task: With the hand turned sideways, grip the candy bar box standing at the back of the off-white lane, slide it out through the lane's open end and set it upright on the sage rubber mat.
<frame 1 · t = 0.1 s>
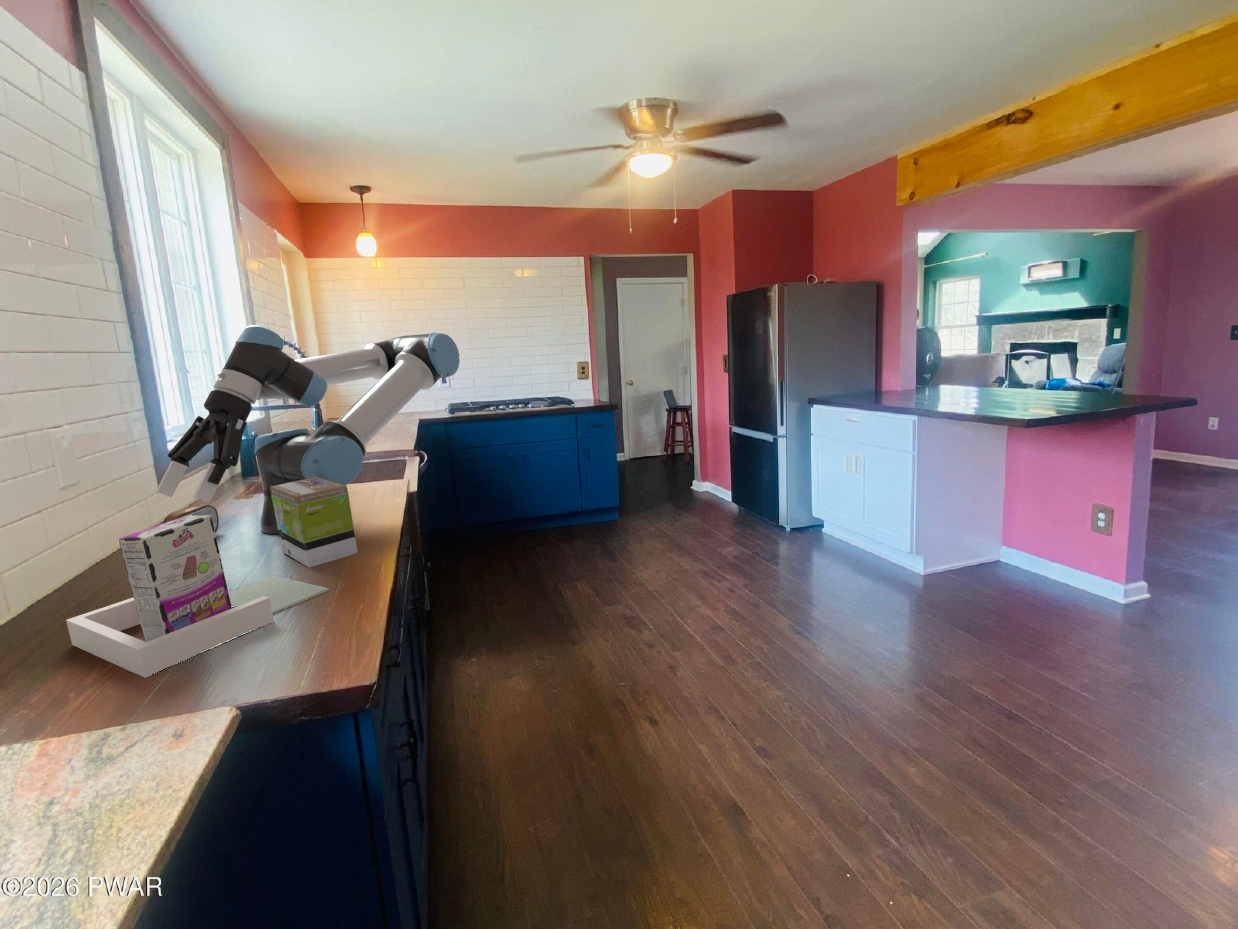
hand: (181, 497, 111), 15 cm above the counter, tool tilted 35°, fingers open, 13 cm apart
sage mat: (270, 595, 102), on the counter
lane rack: (175, 633, 89), on the counter
candy bar box: (190, 629, 91), on the counter
tea box: (319, 555, 123), on the counter
tin: (195, 544, 135), on the counter
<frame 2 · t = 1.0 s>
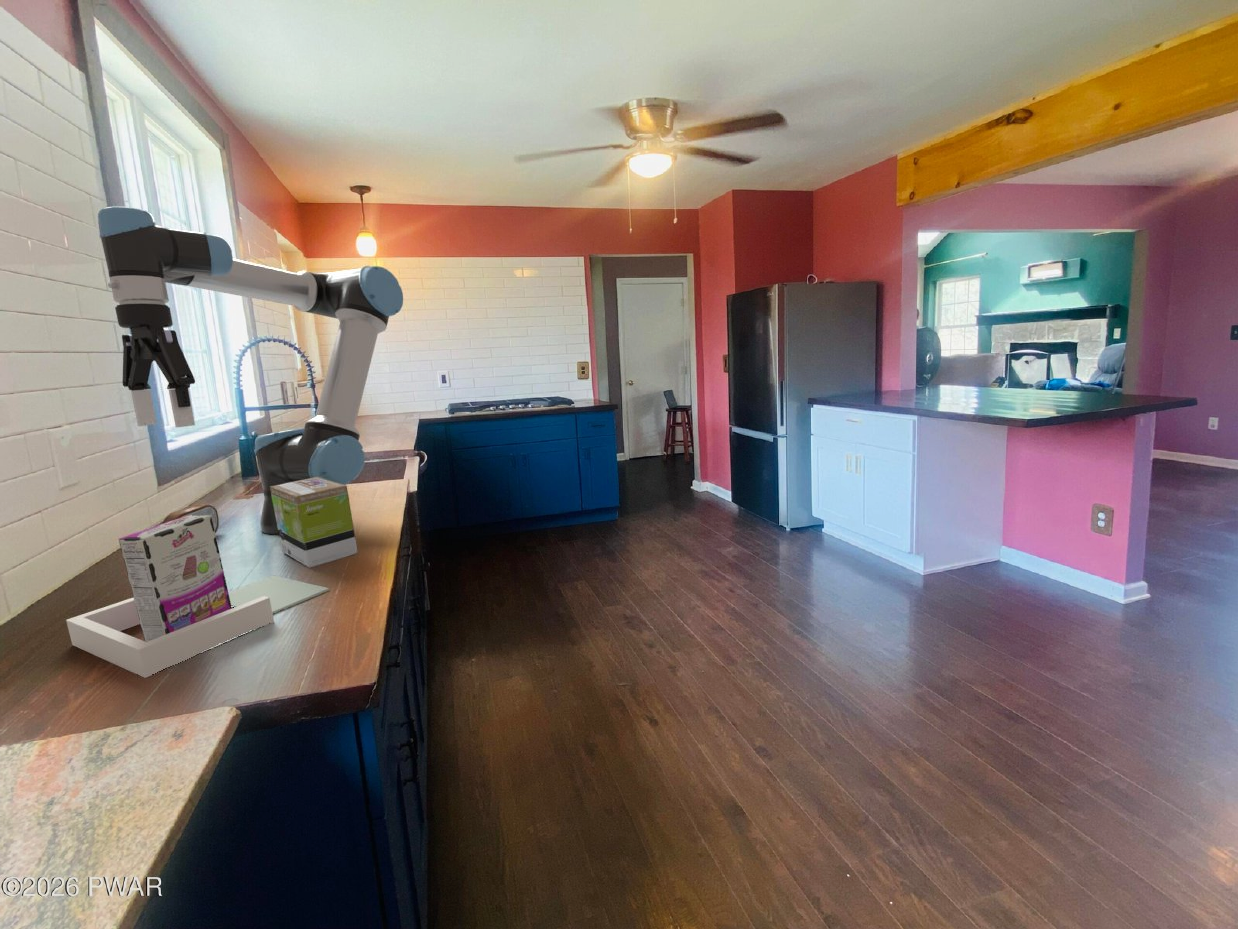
hand: (165, 426, 107), 29 cm above the counter, tool pointing down, fingers open, 13 cm apart
nothing on the counter moved.
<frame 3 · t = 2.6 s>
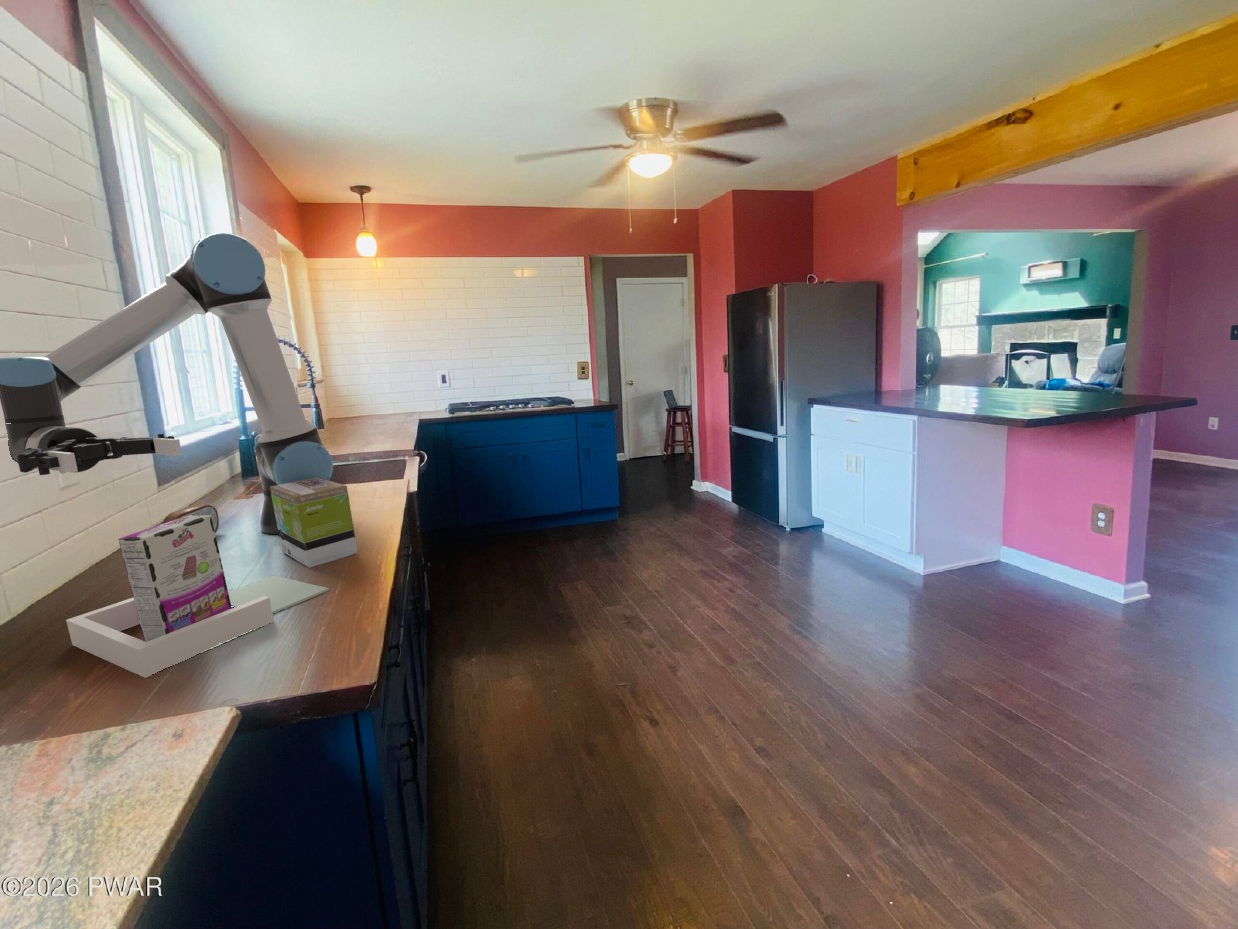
hand: (128, 454, 91), 26 cm above the counter, tool horizontal, fingers open, 13 cm apart
nothing on the counter moved.
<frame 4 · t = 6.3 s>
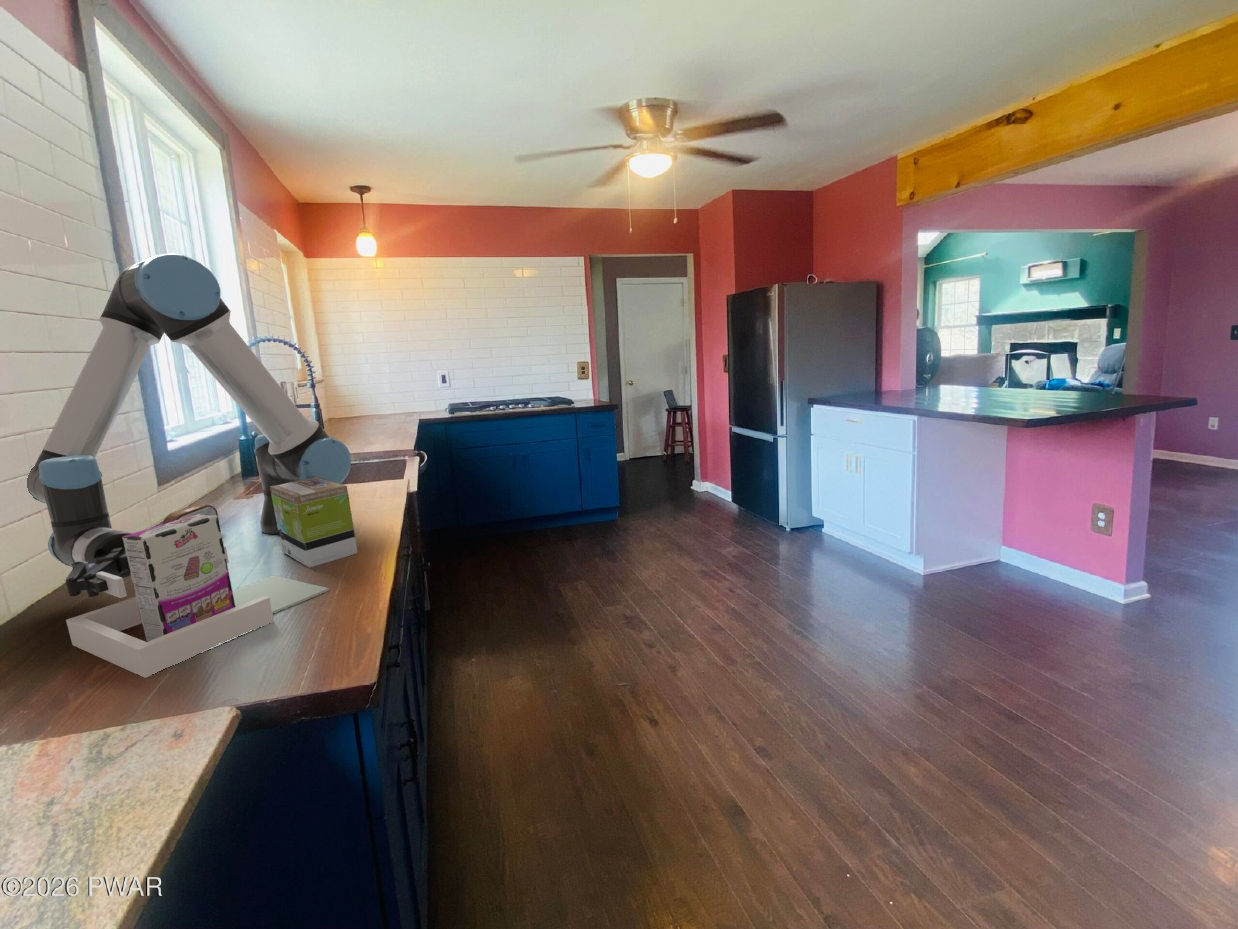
hand: (176, 570, 88), 10 cm above the counter, tool horizontal, fingers open, 13 cm apart
candy bar box: (192, 628, 91), on the counter, touching gripper
everything else where it was.
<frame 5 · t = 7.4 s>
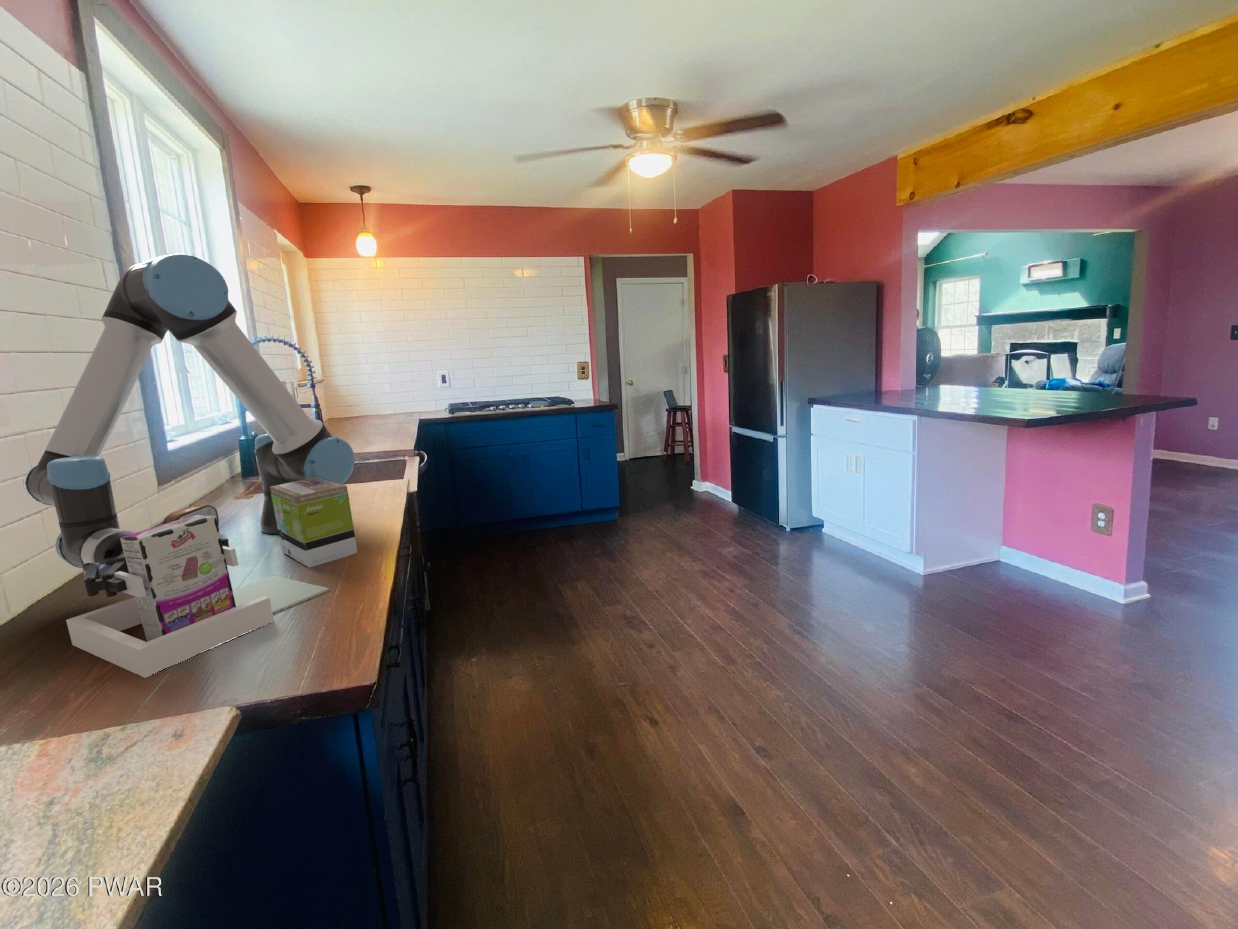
hand: (190, 571, 87), 10 cm above the counter, tool horizontal, fingers open, 12 cm apart
nothing on the counter moved.
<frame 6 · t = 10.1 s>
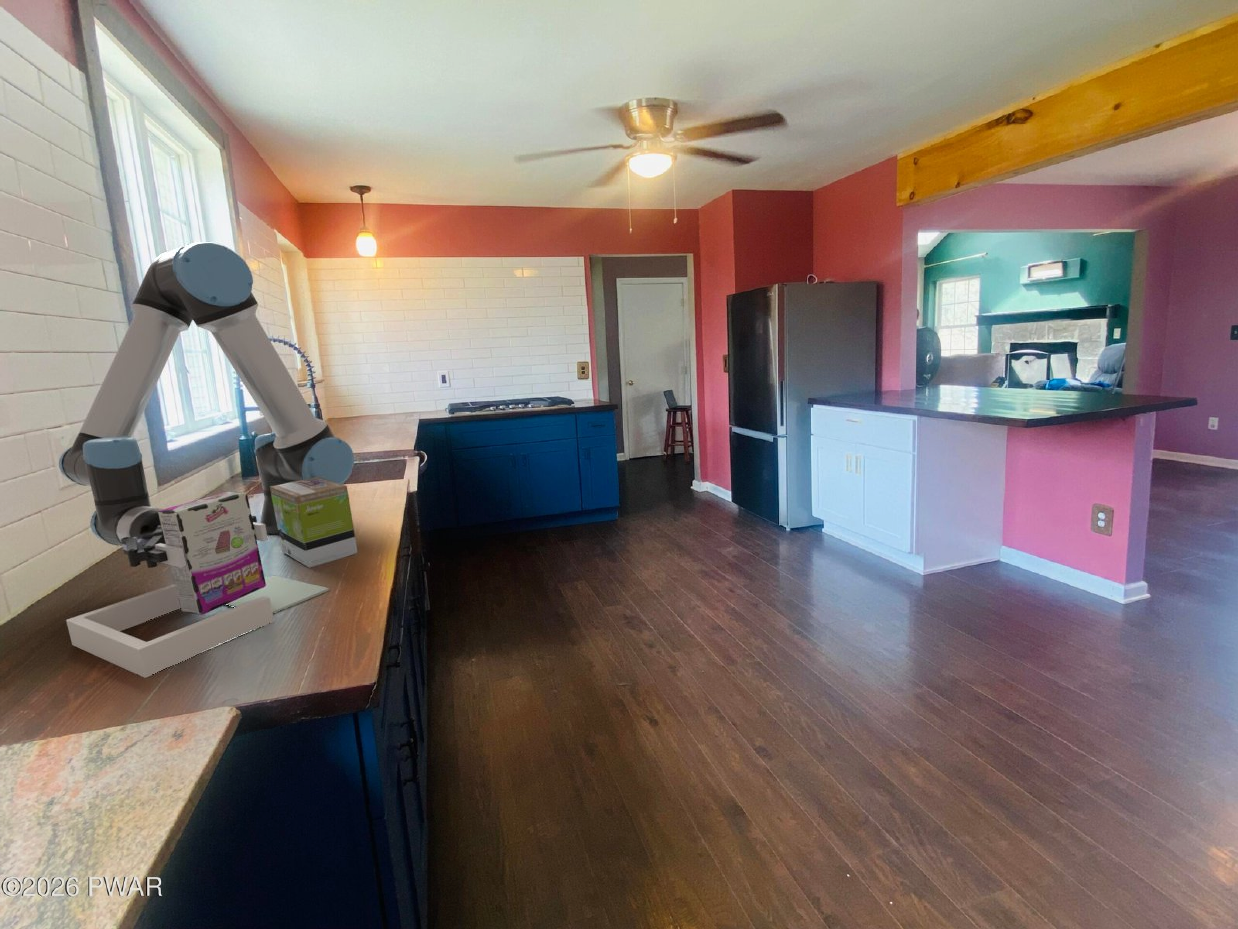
hand: (225, 544, 91), 12 cm above the counter, tool horizontal, fingers closed on candy bar box, 11 cm apart
candy bar box: (225, 600, 95), point 2 cm above the counter, touching gripper
everything else where it was.
when the fingers open (11 cm above the counter, at t = 12.4 s): candy bar box stays where it is, resting on sage mat.
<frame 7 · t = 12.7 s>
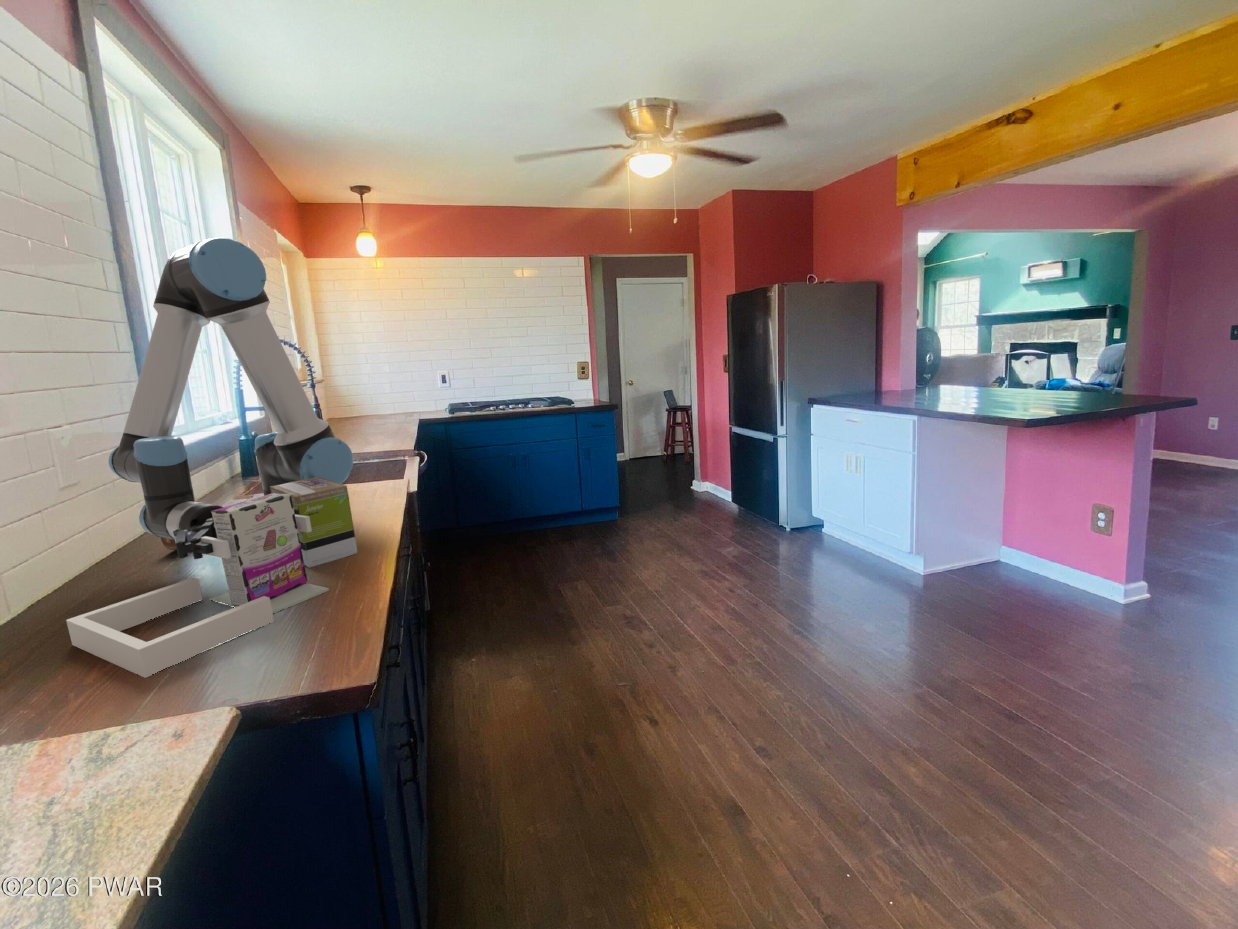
hand: (270, 536, 98), 11 cm above the counter, tool horizontal, fingers open, 13 cm apart
candy bar box: (270, 595, 101), resting on sage mat
everything else where it was.
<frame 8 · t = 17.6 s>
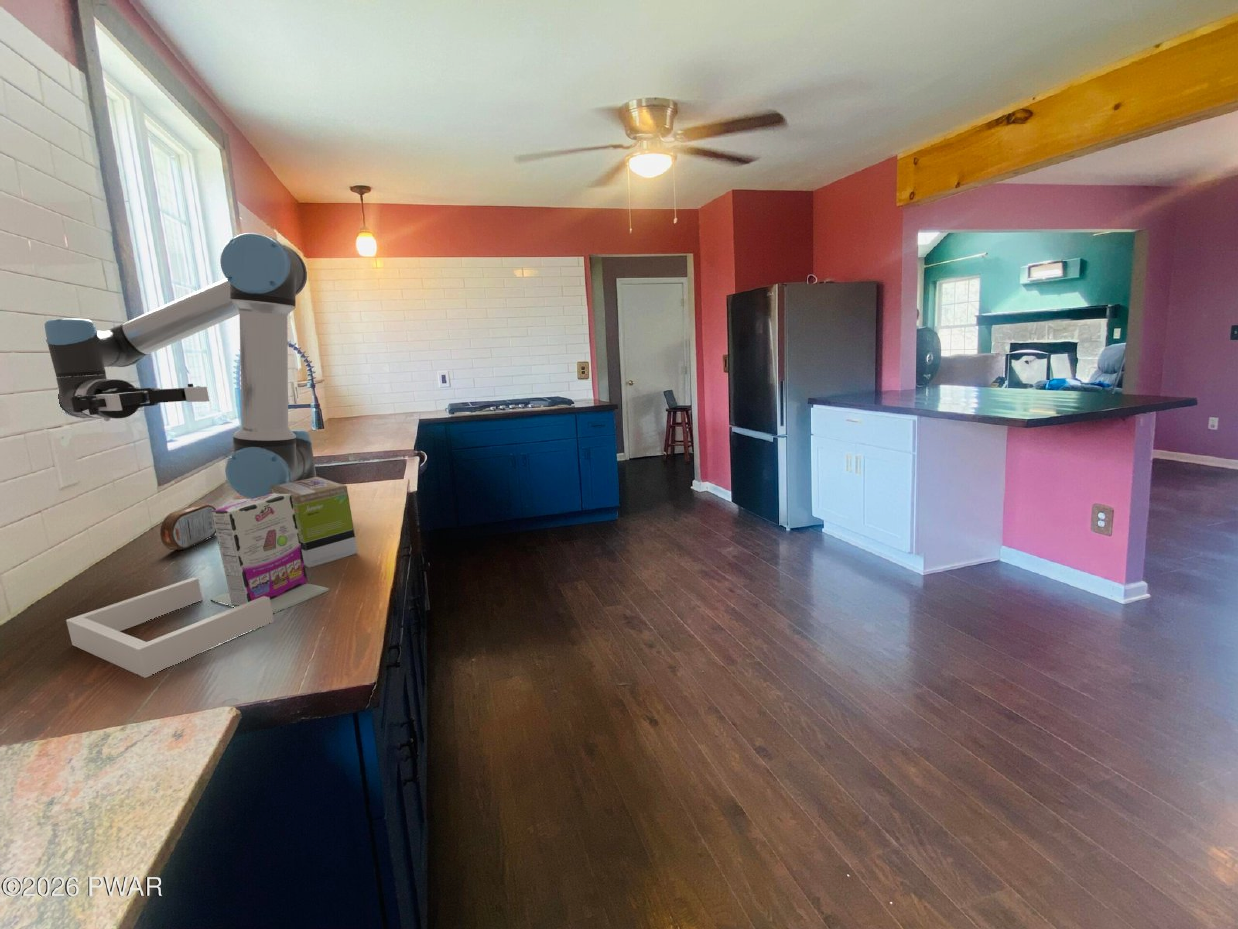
hand: (164, 398, 105), 34 cm above the counter, tool horizontal, fingers open, 13 cm apart
nothing on the counter moved.
at the end: candy bar box inside the target area (0.4 cm from its centre), resting on sage mat; candy bar box tilted 0°; the gripper is holding nothing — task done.
